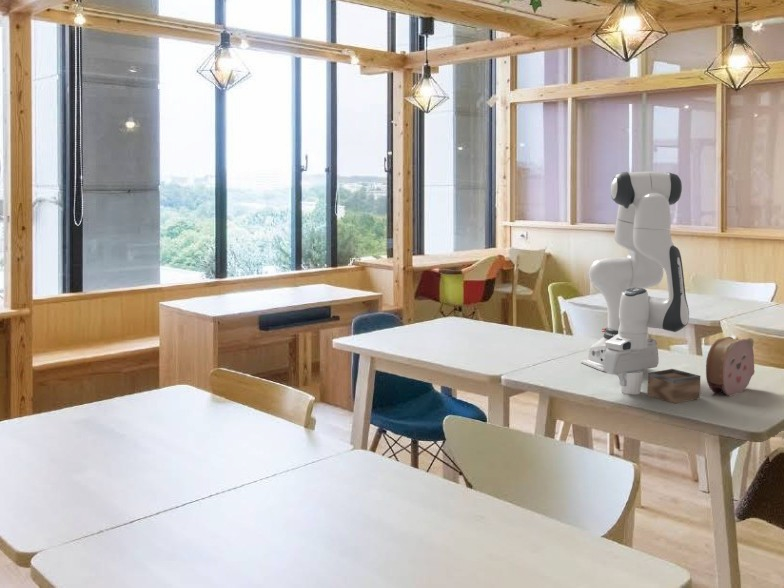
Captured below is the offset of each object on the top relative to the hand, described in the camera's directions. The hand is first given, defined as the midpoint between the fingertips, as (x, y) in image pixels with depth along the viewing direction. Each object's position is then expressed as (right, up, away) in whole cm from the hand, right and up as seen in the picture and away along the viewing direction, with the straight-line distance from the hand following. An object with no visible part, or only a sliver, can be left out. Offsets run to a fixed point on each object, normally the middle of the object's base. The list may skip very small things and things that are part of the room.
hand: (631, 384), depth 251 cm
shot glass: (0, -3, 0) cm, 3 cm away
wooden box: (+11, -3, -5) cm, 13 cm away
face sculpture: (+31, -2, +1) cm, 31 cm away
